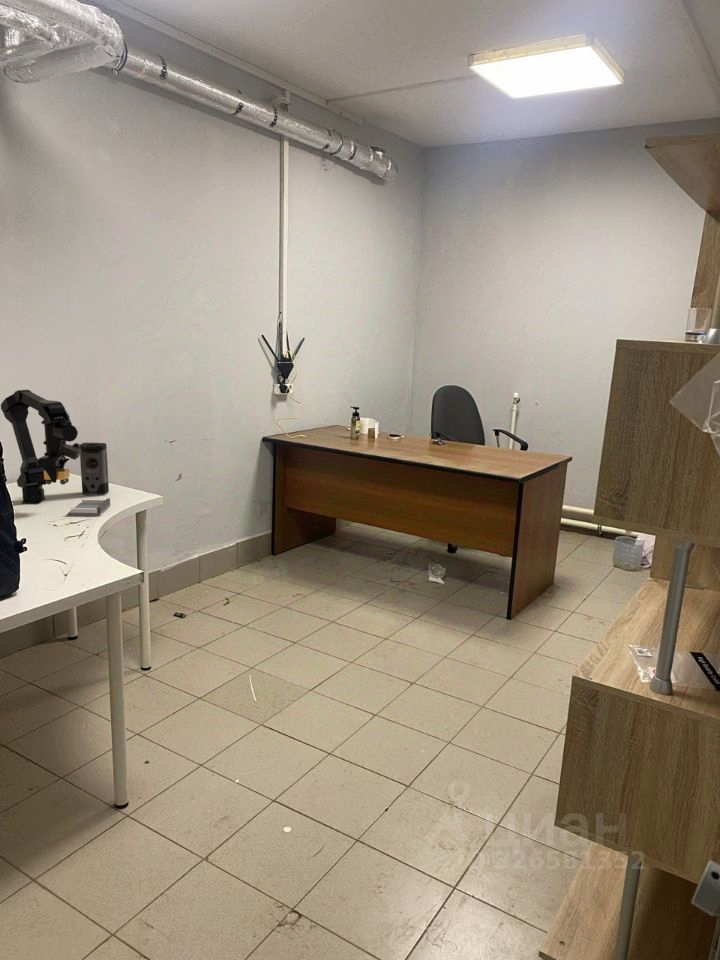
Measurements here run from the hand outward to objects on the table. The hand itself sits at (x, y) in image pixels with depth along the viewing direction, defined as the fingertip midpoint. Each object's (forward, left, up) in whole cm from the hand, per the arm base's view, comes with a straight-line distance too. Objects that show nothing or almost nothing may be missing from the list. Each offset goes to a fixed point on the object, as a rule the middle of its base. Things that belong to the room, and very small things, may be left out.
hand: (57, 480), depth 245 cm
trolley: (0, 0, -1) cm, 1 cm away
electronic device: (+6, +24, -11) cm, 27 cm away
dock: (+11, 0, -11) cm, 15 cm away
